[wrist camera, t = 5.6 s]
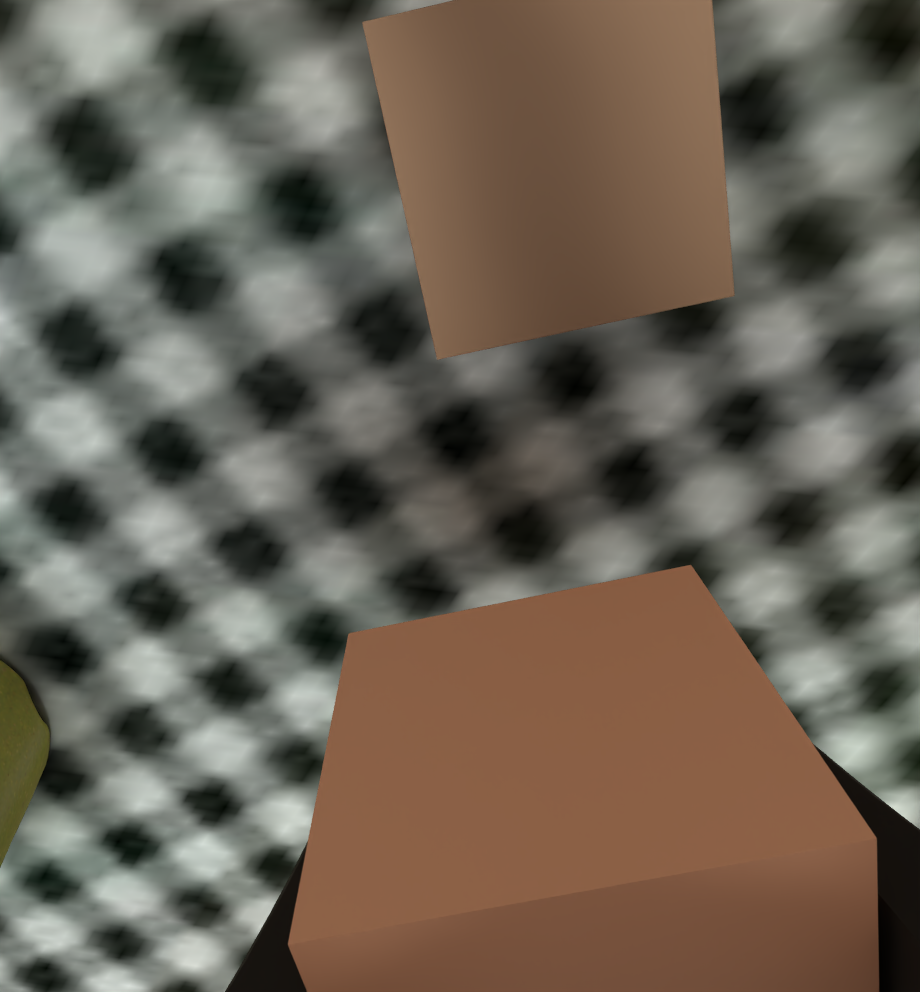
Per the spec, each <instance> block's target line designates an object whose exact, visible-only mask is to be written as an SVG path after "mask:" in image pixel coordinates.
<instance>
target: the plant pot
mask: <svg viewBox="0 0 920 992" xmlns="http://www.w3.org/2000/svg"><path fill="white" fill-rule="evenodd" d="M49 745H50V734H49V729H48V726H47V725H46V724H45V723H44V722H43V720H42V719H41V718H40V716H39V714H38V712H37V710H36V708H35V706H34V704H33V702H32V700H31V698H30V695H29V693H28V690H27V687H26V685H25V683H24V681H23V680H22V678H21V677H20V676H19V675H18V674H17V673H16V672H15V671H13V670H12V669H11V668H10V667H9V666H8V665H6V664H5V663H4V662H2V661H1V660H0V867H1V865H2V862H3V860H4V858H5V855H6V853H7V851H8V848H9V846H10V844H11V842H12V839H13V837H14V835H15V833H16V831H17V829H18V827H19V825H20V822H21V820H22V818H23V816H24V814H25V811H26V809H27V807H28V805H29V803H30V801H31V798H32V796H33V794H34V791H35V789H36V786H37V784H38V782H39V779H40V777H41V775H42V772H43V770H44V768H45V765H46V762H47V759H48V753H49Z"/></svg>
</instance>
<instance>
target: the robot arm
mask: <svg viewBox="0 0 920 992" xmlns="http://www.w3.org/2000/svg"><path fill="white" fill-rule="evenodd" d="M812 744H813V743H812ZM813 745H814V744H813ZM814 747H815V748H816V750H817V751H818V753H819V754H820V755H821V757H822V758H823V760H824V761H825V763H826V764H827V766H828V767H829V769H830V770H831V772H832V773H833V775H834V776H835V778H836V779H837V781H838V782H839V783H840V785H841V786H842V788H843V789H844V791H845V792H846V794H847V795H848V797H849V798H850V800H851V801H852V803H853V804H854V806H855V807H856V808H857V810H858V811H859V813H860V814H861V816H862V817H863V819H864V820H865V822H866V823H867V825H868V826H869V828H870V829H871V831H872V832H873V833H874V835H875V836H876V838H877V884H878V947H879V992H920V829H918V828H917V827H916V826H914V825H913V824H912V823H910V822H909V821H908V820H906V819H905V818H904V817H903V816H901V815H900V814H899V813H897V812H896V811H895V810H894V809H892V808H891V807H890V806H888V805H887V804H886V803H885V802H883V801H882V800H881V799H880V798H878V797H877V796H876V795H875V794H873V793H872V792H871V791H870V790H868V789H867V788H866V787H865V786H863V785H862V784H861V783H860V782H858V781H857V780H856V779H855V778H854V777H852V776H851V775H850V774H849V773H847V772H846V771H845V770H844V769H843V768H841V767H840V766H839V765H838V764H837V763H835V762H834V761H833V760H832V759H831V758H829V757H828V756H827V755H826V754H825V753H823V752H822V751H821V750H820V749H819V748H817V747H816V746H815V745H814ZM307 844H308V842H307ZM307 844H306V846H305V848H304V850H303V852H302V854H301V856H300V858H299V860H298V862H297V864H296V866H295V867H294V869H293V871H292V873H291V875H290V877H289V879H288V881H287V883H286V885H285V887H284V888H283V890H282V892H281V894H280V896H279V898H278V900H277V901H276V903H275V905H274V907H273V909H272V911H271V913H270V914H269V916H268V918H267V920H266V922H265V923H264V925H263V927H262V929H261V930H260V932H259V934H258V936H257V937H256V939H255V941H254V943H253V945H252V946H251V948H250V950H249V952H248V953H247V955H246V957H245V959H244V960H243V962H242V964H241V966H240V967H239V969H238V971H237V973H236V974H235V976H234V978H233V979H232V981H231V983H230V984H229V986H228V988H227V989H226V991H225V992H307V990H306V988H305V985H304V983H303V980H302V978H301V975H300V973H299V971H298V968H297V966H296V963H295V961H294V958H293V956H292V954H291V951H290V949H289V946H288V941H289V936H290V931H291V926H292V921H293V915H294V910H295V905H296V900H297V895H298V890H299V885H300V880H301V875H302V869H303V864H304V859H305V854H306V849H307Z"/></svg>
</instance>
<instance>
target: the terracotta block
mask: <svg viewBox="0 0 920 992" xmlns="http://www.w3.org/2000/svg"><path fill="white" fill-rule="evenodd" d="M288 946H289V949H290V951H291V954H292V956H293V958H294V961H295V963H296V966H297V968H298V971H299V973H300V975H301V978H302V980H303V983H304V985H305V988H306V990H307V992H879V947H878V884H877V838H876V836H875V835H874V833H873V832H872V831H871V829H870V828H869V826H868V825H867V823H866V822H865V820H864V819H863V817H862V816H861V814H860V813H859V811H858V810H857V808H856V807H855V806H854V804H853V803H852V801H851V800H850V798H849V797H848V795H847V794H846V792H845V791H844V789H843V788H842V786H841V785H840V783H839V782H838V781H837V779H836V778H835V776H834V775H833V773H832V772H831V770H830V769H829V767H828V766H827V764H826V763H825V761H824V760H823V758H822V757H821V755H820V754H819V753H818V751H817V750H816V748H815V747H814V745H813V744H812V742H811V741H810V739H809V738H808V736H807V735H806V733H805V732H804V730H803V729H802V728H801V726H800V725H799V723H798V722H797V720H796V719H795V717H794V716H793V714H792V713H791V711H790V710H789V708H788V707H787V705H786V704H785V703H784V701H783V700H782V698H781V697H780V695H779V694H778V692H777V691H776V689H775V688H774V686H773V685H772V683H771V682H770V680H769V679H768V677H767V676H766V675H765V673H764V672H763V670H762V669H761V667H760V666H759V664H758V663H757V661H756V660H755V658H754V657H753V655H752V654H751V652H750V651H749V650H748V648H747V647H746V645H745V644H744V642H743V641H742V639H741V638H740V636H739V635H738V633H737V632H736V630H735V629H734V627H733V626H732V625H731V623H730V622H729V620H728V619H727V617H726V616H725V614H724V613H723V611H722V610H721V608H720V607H719V605H718V604H717V602H716V601H715V599H714V598H713V597H712V595H711V594H710V592H709V591H708V589H707V588H706V586H705V585H704V583H703V582H702V580H701V579H700V577H699V576H698V574H697V573H696V572H695V570H694V569H693V567H692V566H691V565H688V566H683V567H678V568H673V569H668V570H663V571H658V572H653V573H648V574H643V575H638V576H633V577H628V578H623V579H618V580H613V581H608V582H603V583H598V584H593V585H588V586H583V587H578V588H573V589H568V590H563V591H558V592H553V593H548V594H543V595H538V596H533V597H528V598H523V599H518V600H513V601H508V602H503V603H498V604H493V605H488V606H483V607H478V608H473V609H468V610H463V611H458V612H453V613H448V614H443V615H438V616H433V617H428V618H423V619H418V620H413V621H408V622H403V623H398V624H393V625H388V626H383V627H378V628H373V629H368V630H363V631H358V632H353V633H349V634H348V639H347V645H346V650H345V655H344V660H343V665H342V670H341V675H340V680H339V685H338V691H337V696H336V701H335V706H334V711H333V716H332V721H331V726H330V731H329V737H328V742H327V747H326V752H325V757H324V762H323V767H322V772H321V777H320V783H319V788H318V793H317V798H316V803H315V808H314V813H313V818H312V823H311V829H310V834H309V839H308V844H307V849H306V854H305V859H304V864H303V869H302V875H301V880H300V885H299V890H298V895H297V900H296V905H295V910H294V915H293V921H292V926H291V931H290V936H289V941H288Z"/></svg>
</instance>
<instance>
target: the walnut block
mask: <svg viewBox="0 0 920 992" xmlns="http://www.w3.org/2000/svg"><path fill="white" fill-rule="evenodd" d="M362 23H363V27H364V32H365V36H366V41H367V45H368V50H369V54H370V59H371V64H372V68H373V73H374V77H375V82H376V86H377V91H378V95H379V100H380V104H381V109H382V113H383V118H384V122H385V127H386V131H387V136H388V140H389V145H390V149H391V154H392V158H393V163H394V167H395V172H396V176H397V181H398V185H399V190H400V194H401V199H402V203H403V208H404V212H405V217H406V221H407V226H408V230H409V235H410V239H411V244H412V248H413V253H414V257H415V262H416V266H417V271H418V275H419V280H420V284H421V289H422V293H423V298H424V302H425V307H426V311H427V316H428V321H429V325H430V330H431V334H432V339H433V343H434V348H435V352H436V357H437V360H438V359H443V358H447V357H452V356H457V355H461V354H466V353H471V352H475V351H480V350H484V349H489V348H494V347H498V346H503V345H508V344H512V343H517V342H522V341H526V340H531V339H536V338H540V337H545V336H550V335H554V334H559V333H564V332H568V331H573V330H578V329H582V328H587V327H592V326H596V325H601V324H606V323H610V322H615V321H620V320H624V319H629V318H634V317H638V316H643V315H648V314H652V313H657V312H662V311H666V310H671V309H676V308H680V307H685V306H690V305H694V304H699V303H704V302H708V301H713V300H718V299H722V298H727V297H732V296H734V283H733V270H732V256H731V243H730V230H729V217H728V204H727V191H726V178H725V165H724V151H723V138H722V125H721V112H720V99H719V86H718V73H717V60H716V46H715V33H714V20H713V7H712V0H453V1H449V2H445V3H441V4H437V5H432V6H428V7H424V8H420V9H416V10H411V11H407V12H403V13H399V14H395V15H390V16H386V17H382V18H378V19H373V20H369V21H365V22H362Z"/></svg>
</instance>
